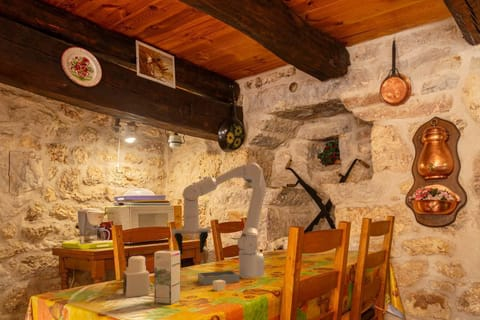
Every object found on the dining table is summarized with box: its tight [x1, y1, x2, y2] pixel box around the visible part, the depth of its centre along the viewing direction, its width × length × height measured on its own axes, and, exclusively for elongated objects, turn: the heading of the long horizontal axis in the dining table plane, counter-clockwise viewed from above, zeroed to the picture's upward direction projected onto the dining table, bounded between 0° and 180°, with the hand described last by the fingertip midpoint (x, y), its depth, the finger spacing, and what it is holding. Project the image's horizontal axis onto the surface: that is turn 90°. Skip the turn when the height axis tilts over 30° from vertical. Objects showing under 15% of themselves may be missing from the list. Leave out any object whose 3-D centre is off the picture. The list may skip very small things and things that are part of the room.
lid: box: [212, 280, 227, 296], centre depth 126 cm, size 14×10×4 cm
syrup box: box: [153, 249, 181, 305], centre depth 112 cm, size 6×6×14 cm
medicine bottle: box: [122, 254, 150, 299], centre depth 122 cm, size 7×7×12 cm
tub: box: [197, 270, 240, 287], centre depth 137 cm, size 13×9×3 cm
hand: (191, 253), depth 144 cm, fingers open, 7 cm apart
